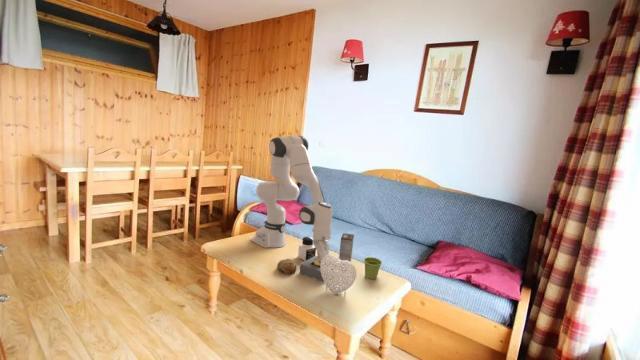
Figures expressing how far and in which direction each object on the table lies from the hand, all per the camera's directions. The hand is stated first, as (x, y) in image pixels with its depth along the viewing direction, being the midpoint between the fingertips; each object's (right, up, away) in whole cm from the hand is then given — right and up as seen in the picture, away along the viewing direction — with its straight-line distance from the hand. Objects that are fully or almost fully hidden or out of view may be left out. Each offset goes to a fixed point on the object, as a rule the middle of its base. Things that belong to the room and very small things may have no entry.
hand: (319, 259), depth 161 cm
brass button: (0, -4, +1) cm, 4 cm away
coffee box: (+14, -6, +16) cm, 22 cm away
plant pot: (+27, -10, +2) cm, 29 cm away
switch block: (-1, -7, +1) cm, 7 cm away
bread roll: (-17, -6, +1) cm, 18 cm away
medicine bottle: (-8, -4, +18) cm, 20 cm away
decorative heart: (+7, -11, -17) cm, 22 cm away
